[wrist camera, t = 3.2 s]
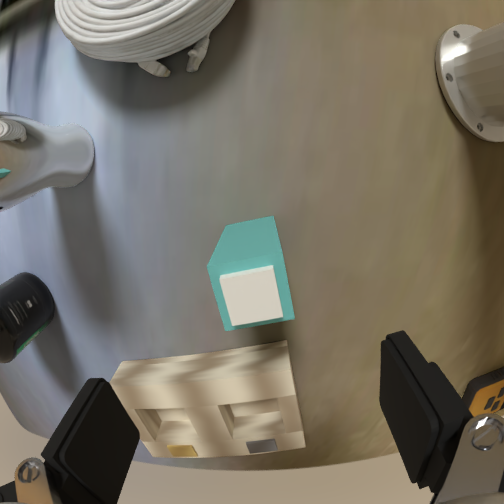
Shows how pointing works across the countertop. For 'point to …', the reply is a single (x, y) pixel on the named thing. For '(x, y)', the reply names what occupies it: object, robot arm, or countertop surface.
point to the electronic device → (485, 393)
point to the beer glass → (40, 157)
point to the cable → (141, 29)
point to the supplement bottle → (22, 313)
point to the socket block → (214, 402)
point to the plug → (250, 275)
